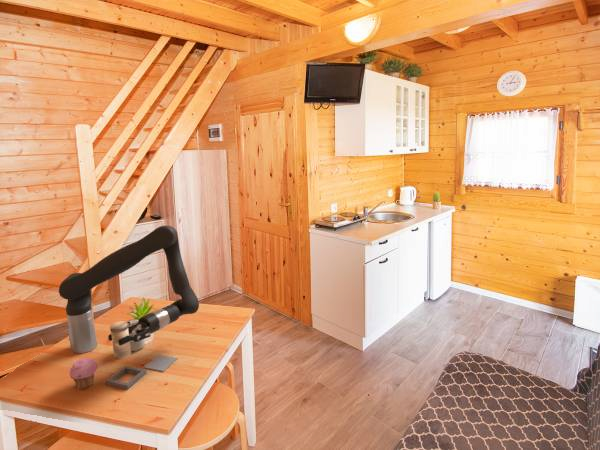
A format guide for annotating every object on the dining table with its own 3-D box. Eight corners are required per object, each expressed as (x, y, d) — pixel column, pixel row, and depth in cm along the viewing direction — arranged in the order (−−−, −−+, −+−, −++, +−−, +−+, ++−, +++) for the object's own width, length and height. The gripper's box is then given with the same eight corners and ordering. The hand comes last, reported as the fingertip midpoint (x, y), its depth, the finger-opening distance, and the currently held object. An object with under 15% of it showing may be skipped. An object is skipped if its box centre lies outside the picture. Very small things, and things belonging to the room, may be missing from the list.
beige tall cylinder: (110, 357, 134) (106, 327, 131) (122, 349, 139) (118, 320, 136) (123, 360, 132) (119, 329, 129) (135, 351, 137) (131, 322, 135)
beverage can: (129, 353, 155) (125, 327, 152) (128, 346, 160) (124, 321, 158) (145, 349, 157) (142, 323, 155) (144, 342, 163) (140, 317, 160)
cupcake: (75, 380, 137) (70, 356, 135) (101, 375, 140) (97, 351, 138) (70, 395, 129) (65, 370, 127) (97, 389, 132) (93, 364, 130)
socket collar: (106, 384, 135) (106, 380, 134) (126, 369, 143) (125, 365, 143) (128, 389, 132) (127, 385, 131) (146, 373, 141) (146, 369, 140)
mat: (144, 368, 144) (144, 367, 144) (159, 355, 152) (159, 354, 152) (163, 371, 141) (163, 370, 141) (177, 358, 150) (177, 357, 150)
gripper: (142, 308, 149) (101, 326, 135) (165, 316, 141) (124, 336, 127) (144, 325, 150) (104, 344, 136) (167, 334, 143) (127, 355, 129)
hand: (114, 340), depth 132 cm, fingers closed on beige tall cylinder, 5 cm apart
